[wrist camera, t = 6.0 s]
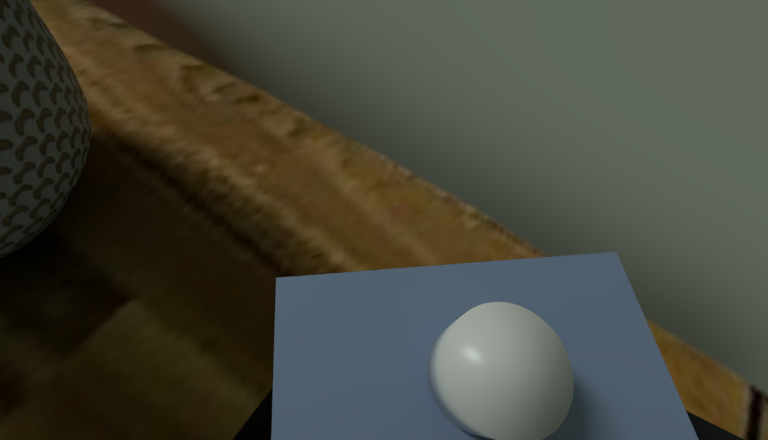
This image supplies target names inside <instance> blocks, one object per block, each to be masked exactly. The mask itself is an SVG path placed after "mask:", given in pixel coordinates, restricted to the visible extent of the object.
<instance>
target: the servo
mask: <svg viewBox="0 0 768 440" xmlns="http://www.w3.org/2000/svg"><path fill="white" fill-rule="evenodd" d="M271 440H699V439H698V437H697V435H696V433H695V430H694V428H693V426H692V423H691V421H690V419H689V417H688V414H687V412H686V410H685V408H684V405H683V403H682V401H681V398H680V396H679V394H678V392H677V389H676V387H675V385H674V383H673V380H672V378H671V376H670V373H669V371H668V369H667V367H666V364H665V362H664V360H663V358H662V355H661V353H660V351H659V348H658V346H657V344H656V342H655V339H654V337H653V335H652V333H651V330H650V328H649V326H648V323H647V321H646V319H645V317H644V314H643V312H642V310H641V308H640V305H639V303H638V301H637V299H636V297H635V294H634V292H633V289H632V287H631V285H630V283H629V280H628V278H627V276H626V274H625V271H624V269H623V267H622V264H621V262H620V260H619V258H618V255H617V253H616V252H609V253H595V254H583V255H569V256H555V257H542V258H529V259H516V260H503V261H490V262H477V263H464V264H450V265H437V266H424V267H411V268H398V269H385V270H372V271H359V272H346V273H332V274H319V275H306V276H293V277H280V278H276V298H275V331H274V365H273V398H272V432H271Z"/></svg>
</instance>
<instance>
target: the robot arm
mask: <svg viewBox="0 0 768 440" xmlns="http://www.w3.org/2000/svg"><path fill="white" fill-rule="evenodd" d="M272 398H273V388H272V389H271V390H270V392H269V393H268V394H267V395H266V397H265V398H264V399H263V401H262V402H261V403H260V405H259V406H258V407H257V408H256V410H255V411H254V412H253V414H252V415H251V416H250V418H249V419H248V420H247V421H246V423H245V424H244V425H243V427H242V428H241V429H240V431H239V432H238V433H237V435H236V436H235V437H234V438H233V440H271V432H272ZM686 412H687V414H688V417H689V419H690V421H691V423H692V426H693V428H694V430H695V433H696V435H697V437H698V439H699V440H744V439H742V438H740V437H738V436H736V435H734V434H732V433H730V432H728V431H726V430H724V429H722V428H720V427H718V426H716V425H714V424H712V423H710V422H708V421H706V420H704V419H702V418H700V417H698V416H696V415H694V414H692V413H690V412H688V411H686Z"/></svg>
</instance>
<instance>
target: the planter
mask: <svg viewBox="0 0 768 440" xmlns="http://www.w3.org/2000/svg"><path fill="white" fill-rule="evenodd" d="M90 139H91V122H90V115H89V110H88V105H87V101H86V99H85V97H84V94H83V92H82V89H81V87H80V84H79V82H78V80H77V77H76V75H75V73H74V71H73V69H72V68H71V66H70V64H69V62H68V60H67V58H66V56H65V55H64V53H63V51H62V50H61V48H60V47H59V45H58V43H57V42H56V40H55V38H54V37H53V35H52V34H51V32H50V31H49V29H48V28H47V26H46V25H45V23H44V21H43V20H42V18H41V17H40V15H39V14H38V12H37V11H36V9H35V8H34V6H33V5H32V3H31V2H30V0H0V258H3V257H5V256H7V255H9V254H11V253H13V252H14V251H16V250H18V249H20V248H22V247H23V246H25V245H26V244H28V243H29V242H30V241H32V240H33V239H35V238H36V237H37V236H38V235H39V234H41V233H42V232H43V231H44V230H45V229H46V228H47V227H48V226H49V225H50V224H51V223H52V222H53V221H54V220H55V218H56V217H57V216H58V214H59V213H60V211H61V210H62V208H63V206H64V205H65V203H66V201H67V199H68V196H69V194H70V193H71V192H72V190H73V189H74V187H75V185H76V183H77V181H78V179H79V177H80V175H81V173H82V171H83V169H84V166H85V162H86V159H87V156H88V153H89V148H90Z"/></svg>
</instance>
